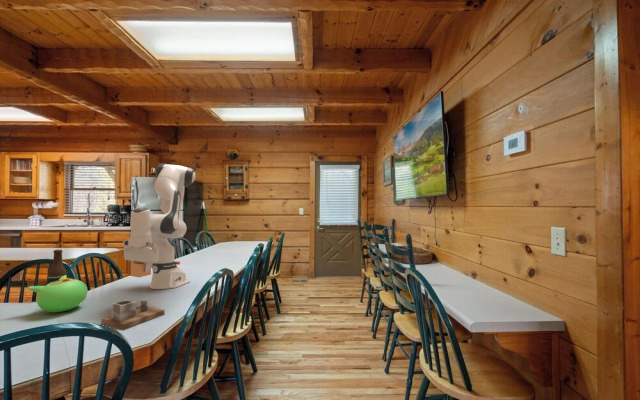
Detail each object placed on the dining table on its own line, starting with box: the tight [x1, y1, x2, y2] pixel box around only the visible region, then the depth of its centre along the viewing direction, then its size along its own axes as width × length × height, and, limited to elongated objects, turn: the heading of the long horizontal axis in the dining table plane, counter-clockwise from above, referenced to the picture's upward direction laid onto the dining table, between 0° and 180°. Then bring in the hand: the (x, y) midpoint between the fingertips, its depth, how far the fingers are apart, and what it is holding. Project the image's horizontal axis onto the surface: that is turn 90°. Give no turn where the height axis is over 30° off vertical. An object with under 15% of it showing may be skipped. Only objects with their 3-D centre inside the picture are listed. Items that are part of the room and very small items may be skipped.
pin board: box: [100, 299, 165, 330], centre depth 130 cm, size 18×14×8 cm
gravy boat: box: [27, 275, 88, 313], centre depth 139 cm, size 18×17×15 cm
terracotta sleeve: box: [130, 262, 152, 278], centre depth 148 cm, size 6×6×6 cm
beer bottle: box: [47, 249, 68, 284], centre depth 158 cm, size 8×8×24 cm
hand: (141, 270), depth 148 cm, fingers closed on terracotta sleeve, 6 cm apart
